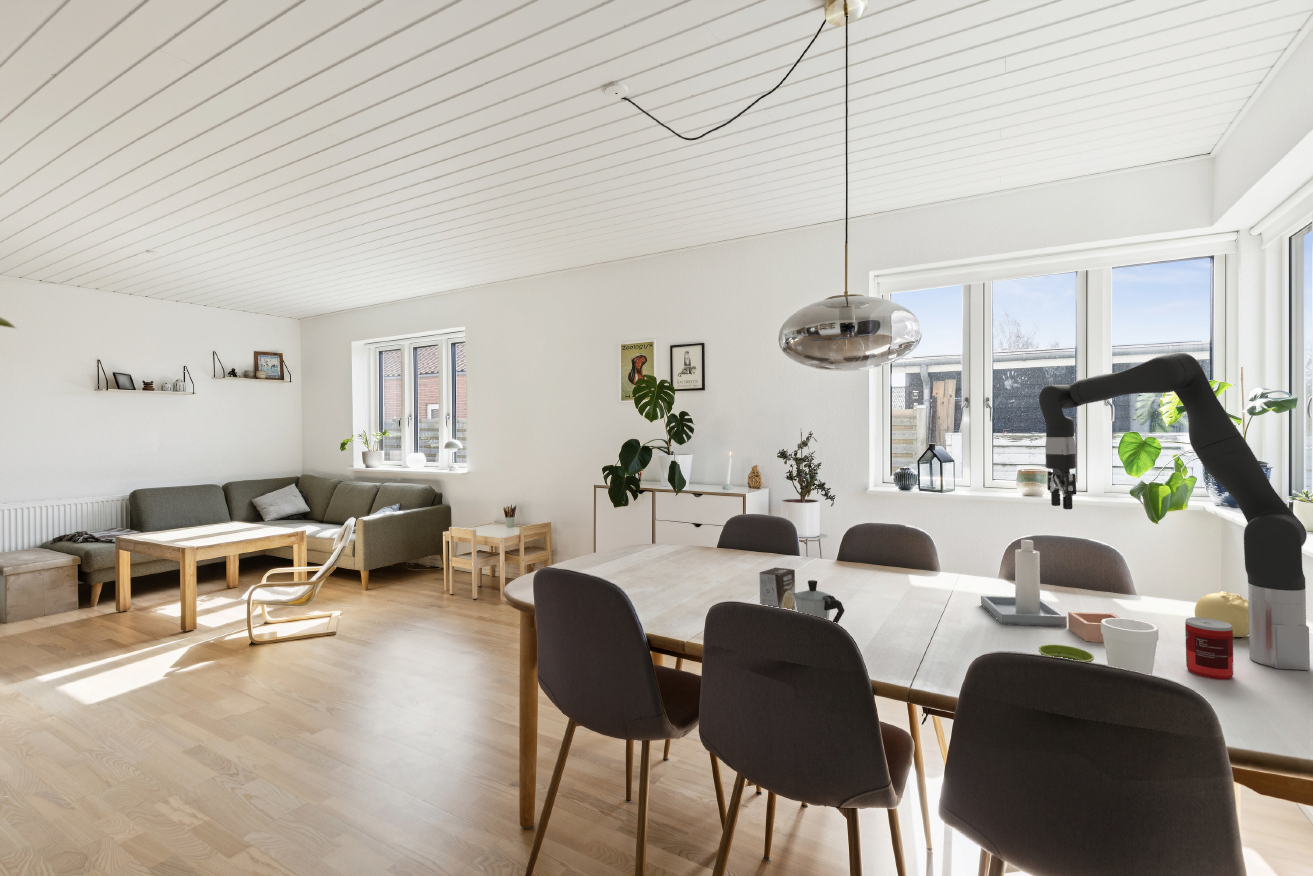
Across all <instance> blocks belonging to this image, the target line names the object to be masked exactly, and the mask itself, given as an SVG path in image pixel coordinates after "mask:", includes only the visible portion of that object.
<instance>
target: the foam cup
mask: <svg viewBox="0 0 1313 876" xmlns="http://www.w3.org/2000/svg"><path fill="white" fill-rule="evenodd" d="M1101 633H1102V634H1103V640H1104V642H1103V645H1104V650H1105V657H1106V662H1107V666H1108V665H1110V666H1114V667H1118V668H1124V669H1127V670H1132V671H1138V672H1141V673H1145V674H1151V675H1152V676H1153V672H1154V666H1155V665H1154V664H1155V656H1156V649H1157V645H1158V641H1159V626H1156V625H1155V624H1153V623H1150V622H1146V621H1143V620H1138V619H1134V618H1124V617H1120V618H1107V619H1103V620H1102V621H1101Z"/></svg>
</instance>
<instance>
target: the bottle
mask: <svg viewBox="0 0 1313 876" xmlns="http://www.w3.org/2000/svg"><path fill="white" fill-rule="evenodd" d="M1014 554H1015V555H1014V565H1015V567H1014V568H1015V569H1014V570H1015V571H1014V577H1015V580H1014V581H1015V583H1014V584H1015V587H1014V588H1015V592H1014V593H1015V596H1014V597H1015V598H1016V614H1036V615H1040V599H1041V577H1040V576H1041V575H1040V574H1041V566H1040V565H1041V558H1040V557H1041V556H1040V554H1041V552H1040V551H1039V550H1035V549H1034V540H1032V539H1021V540H1020V549H1017V548H1016V549H1015V550H1014Z"/></svg>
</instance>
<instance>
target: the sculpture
mask: <svg viewBox="0 0 1313 876" xmlns="http://www.w3.org/2000/svg"><path fill="white" fill-rule="evenodd" d="M1194 617H1198V618H1209V619H1215V620H1220V621H1223V622H1226V623H1229V624H1231V625H1232V628H1233V638H1235V637H1242V638H1244V637H1247V636H1249V612H1248V600H1247V599H1246V598H1245V597H1242V596H1241V594H1238V593H1230V592H1227V591H1224V590H1221V591H1220V592H1213V593H1212V592H1211V593H1208V594H1205V595H1203V596H1202V597H1200V598H1199V599H1198V600H1197V601H1196V604H1195V607H1194Z"/></svg>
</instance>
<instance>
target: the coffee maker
mask: <svg viewBox="0 0 1313 876" xmlns="http://www.w3.org/2000/svg"><path fill="white" fill-rule="evenodd" d="M807 584H808V589H807V590H803V591H799V592H795V593H792V594H793V595H794V597H795V609H796V612H797V611H798V612H802V613H807V614H811V615H815V616H819V617H822V618H826V619H829V620H830V611H831V610H835V609H836V610H837V612H836V614H835V616H834V618H833V619H832V621H833V622H836V623H837V624H838V623H839V622H840V620H841V618H842V616H843V615H844V613H845V608H844V605H843V602H841V601H840V600H839V599H837V598H836V597H835V596H834V595H831V594H829V593H827V592H824V591H820V590H817V587H818V580H814V579H809V580H808V581H807Z"/></svg>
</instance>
